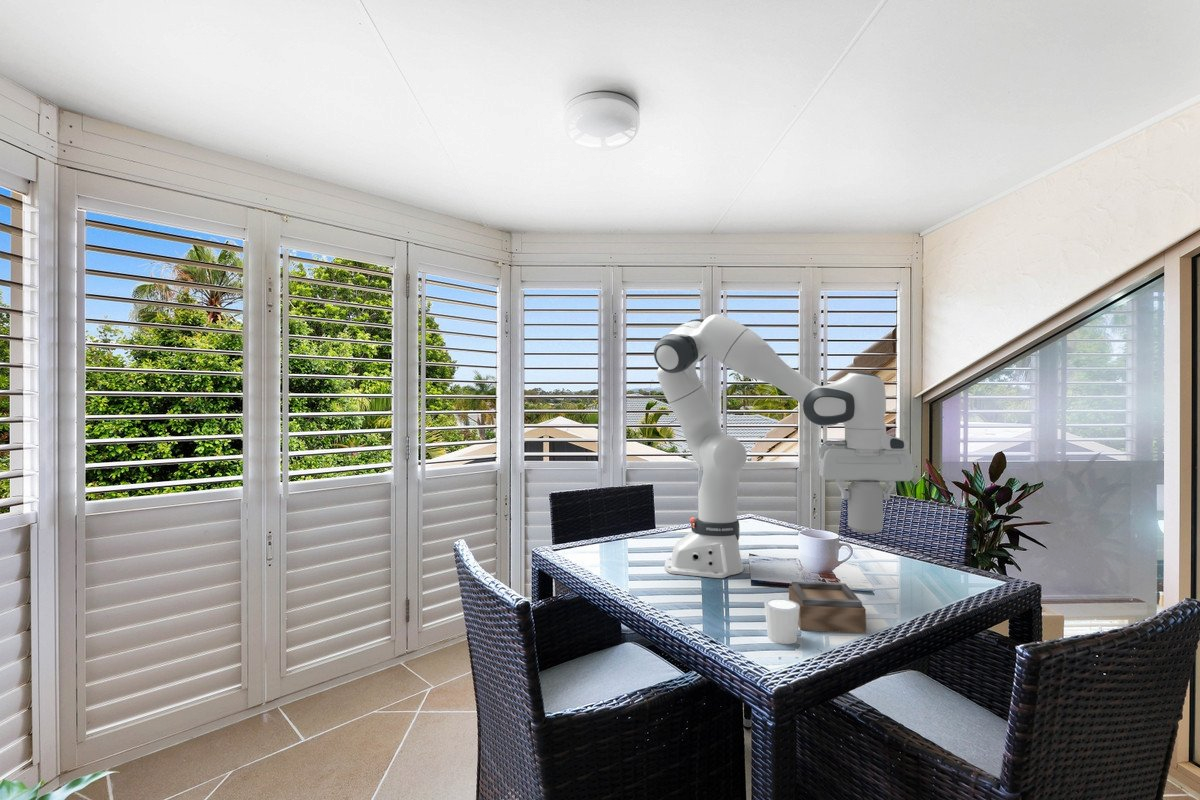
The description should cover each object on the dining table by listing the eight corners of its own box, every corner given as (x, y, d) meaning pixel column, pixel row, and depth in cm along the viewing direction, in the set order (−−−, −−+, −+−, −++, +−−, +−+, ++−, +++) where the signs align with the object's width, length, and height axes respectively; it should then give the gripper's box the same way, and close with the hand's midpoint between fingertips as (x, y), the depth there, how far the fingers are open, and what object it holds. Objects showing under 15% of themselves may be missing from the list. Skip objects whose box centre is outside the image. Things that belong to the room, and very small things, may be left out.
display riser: (800, 629, 117) (800, 600, 117) (789, 607, 130) (788, 580, 130) (865, 633, 115) (865, 603, 115) (847, 609, 128) (847, 582, 128)
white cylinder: (759, 631, 117) (759, 598, 117) (791, 630, 117) (790, 597, 117) (772, 646, 110) (772, 610, 110) (806, 644, 110) (805, 609, 110)
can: (855, 524, 137) (856, 476, 137) (888, 530, 131) (888, 479, 131) (842, 530, 132) (842, 479, 131) (875, 536, 126) (875, 483, 126)
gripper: (822, 441, 129) (822, 500, 129) (916, 442, 127) (916, 502, 127) (815, 439, 136) (816, 496, 136) (905, 440, 133) (905, 497, 133)
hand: (865, 499), depth 131 cm, fingers closed on can, 7 cm apart
